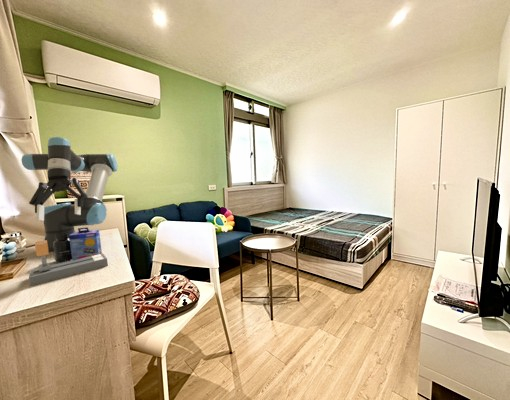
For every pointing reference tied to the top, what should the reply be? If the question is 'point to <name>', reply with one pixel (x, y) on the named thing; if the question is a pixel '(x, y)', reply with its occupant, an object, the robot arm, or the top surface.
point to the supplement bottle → (62, 247)
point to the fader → (43, 254)
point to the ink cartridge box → (85, 243)
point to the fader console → (67, 269)
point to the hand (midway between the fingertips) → (59, 217)
